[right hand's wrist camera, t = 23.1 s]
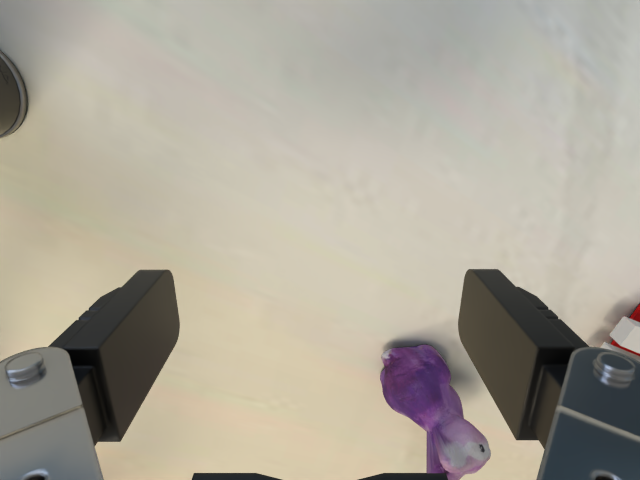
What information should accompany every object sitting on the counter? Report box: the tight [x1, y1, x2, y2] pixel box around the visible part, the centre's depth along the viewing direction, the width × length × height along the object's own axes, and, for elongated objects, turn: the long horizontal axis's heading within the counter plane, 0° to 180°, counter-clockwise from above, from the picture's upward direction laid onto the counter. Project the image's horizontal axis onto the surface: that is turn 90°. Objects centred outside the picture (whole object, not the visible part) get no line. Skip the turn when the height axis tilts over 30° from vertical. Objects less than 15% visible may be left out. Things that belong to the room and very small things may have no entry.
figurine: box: [380, 344, 491, 480], centre depth 43 cm, size 9×10×15 cm
